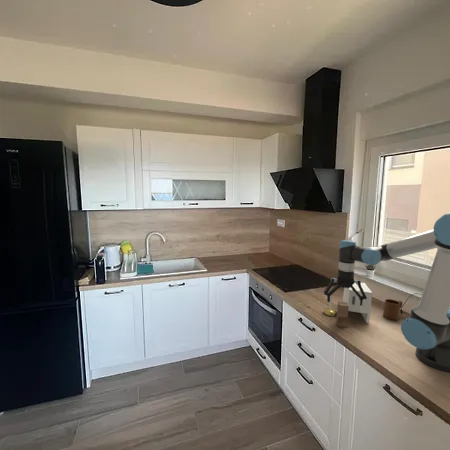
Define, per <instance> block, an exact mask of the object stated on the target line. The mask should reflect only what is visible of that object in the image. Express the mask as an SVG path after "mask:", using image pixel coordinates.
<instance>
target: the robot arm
mask: <svg viewBox="0 0 450 450" xmlns="http://www.w3.org/2000/svg"><path fill="white" fill-rule="evenodd" d="M433 225H434V226H433V228H432V229H431V230H427V231H424V232H422V233H418V234H415V235H411V236H408V237H405V238H402V239H398V240H395V241H392V242H388V243H385V244H382V245H376V246H367V247H366V246H358V245H357V242H356V241H355V240H351V239H350V240H349V239H342V240H340V242H339V247H338V250H339V251H338V252H339V253H338V255H339V256H338V271H337V278H335V277H332V276H331V278H330V282H328V285H327V287H326V288H324V289H325V290H324V291H323V293H324V295H325V296H327V298H326V300H327V301H326V302H328V308H329V309H331V308H332V302H333V301H332V300H333V299H332V295H333V294H334V293H335V292H337V290H338V289H340V288H341V289H344V288H350V287H351V289H352V290H353V291H354V292H355V293H356V295H357V296H358V297H359V298H357V311H358V312H357V313H359V312H360V306H362V300H363V299H367V297H366V295H365V293H364V291H363V289H362V287H361V283H362V282H361V280H360V279H355V264H356V262H358V263H362V264H365V265H371V266H376V265H378V264H379V263H380V262H387V261H391V260H393V259H396V258H401V257H404V256H405V257H406V256H409V255H413V254H416V253H417V254H418V253H422V252H424V251H429V250H434V249H437V251H436V254H435V256H434V259H433V262H432V265H431V268H430V271H429V272H428V273H429V274H428V277H427V279H426V283H425V285H424V288H423V290H422V293H421V297H420V300H419V303H418V304H417V305H413V306H412V308H411V311H410V313H409V317H407V318H405V319H404V320H403V321H402V322H401V325H400V330H401V333H402V335H403V336H404V339H405V340H406V341H407V343H409V344H410V345H411V346H413V347H415V348H416V349H415V356H416V357H417V359H419V360H420V361H421V362H423V363H424V364H425V365H428V366H430V367H431V368H434V369H436V370H439V371H443V372H447V373H450V212H447V213H445V214H443V215H441V216H440V217H438V218H437V220H436V221H435V222H434V224H433ZM334 283H337V284H335V286H334V287H333V288H332V286H333V285H334ZM354 283H356V284H357V285H358V287H359V289H360V291H361V293H362V295H363V296H361V295H360V294H359V293H358V292H357V291H356V289H355V288H354V287H353V286H352V285H353V284H354Z"/></svg>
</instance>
